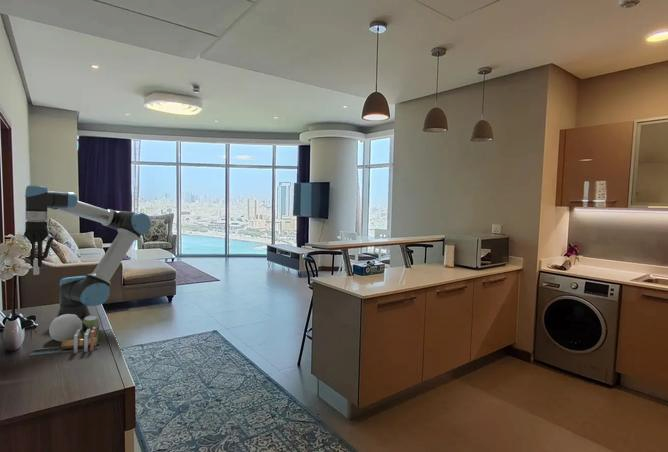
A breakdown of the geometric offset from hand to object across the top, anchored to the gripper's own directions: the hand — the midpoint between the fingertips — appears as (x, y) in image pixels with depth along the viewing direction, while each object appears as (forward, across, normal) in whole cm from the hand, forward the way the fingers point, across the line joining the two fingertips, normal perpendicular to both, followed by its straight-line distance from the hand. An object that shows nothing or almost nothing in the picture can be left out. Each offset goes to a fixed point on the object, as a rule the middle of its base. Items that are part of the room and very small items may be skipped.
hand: (36, 274), depth 165 cm
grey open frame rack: (+29, +14, -21) cm, 39 cm away
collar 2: (+29, +22, -21) cm, 42 cm away
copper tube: (+28, +19, -21) cm, 40 cm away
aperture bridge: (+29, +24, -21) cm, 43 cm away
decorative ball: (+30, +12, -6) cm, 33 cm away
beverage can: (+30, +22, -12) cm, 39 cm away
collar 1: (+29, +18, -21) cm, 41 cm away
